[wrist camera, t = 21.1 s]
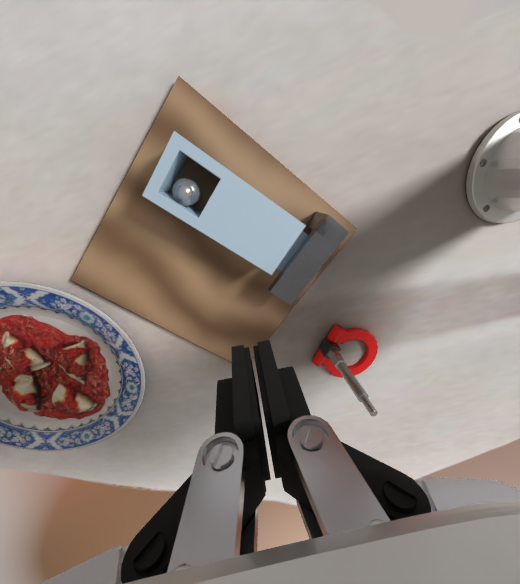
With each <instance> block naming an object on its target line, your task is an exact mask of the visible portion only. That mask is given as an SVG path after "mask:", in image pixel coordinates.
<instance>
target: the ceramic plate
mask: <svg viewBox="0 0 520 584" xmlns="http://www.w3.org/2000/svg"><path fill="white" fill-rule="evenodd" d="M144 391H145V371H144V366H143V363H142V360H141V357H140V355H139V353H138V350H137V348H136V347H135V345H134V343H133V342H132V340H131V339H130V338H129V336H128V335H127V334H126V332H125V331H124V330H123V329H122V328H121V327H120V326H119V325H118V324H117V323H116V322H115V321H114V320H113V319H112V318H110V317H109V316H108V315H106V314H105V313H104V312H103V311H101V310H100V309H98V308H96V307H95V306H93V305H92V304H90V303H88V302H86V301H84V300H83V299H81V298H78V297H76V296H74V295H72V294H69V293H67V292H64V291H61V290H58V289H55V288H51V287H48V286H43V285H38V284H33V283H26V282H13V281H0V443H1V444H5V445H9V446H12V447H16V448H23V449H30V450H39V451H58V450H71V449H77V448H81V447H85V446H89V445H92V444H95V443H98V442H100V441H103V440H105V439H107V438H108V437H110V436H112V435H114V434H115V433H117V432H118V431H120V430H121V429H122V428H123V427H125V426H126V425H127V424H128V423H129V422H130V421H131V419H132V418H133V417H134V415H135V414H136V412H137V411H138V409H139V407H140V405H141V403H142V400H143V396H144Z"/></svg>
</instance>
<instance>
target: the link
mask: <svg viewBox="0 0 520 584" xmlns="http://www.w3.org/2000/svg"><path fill="white" fill-rule="evenodd" d="M187 157H189V158H190V159H192V160H193V161H195V162H196V163H198V164H199V165H200V166H202V167H203V168H205V169H206V170H208V171H209V172H210V173H212V174H213V175H215V176H216V177H218V178H219V179H220V181H219V183H218V185H217V187H216V188H215V190H214V192H213V194H212V195H211V197H210V199H209V201H208V202H207V204H206V206H205V208H204V210H203V211H202V212H200V211H199V210H197V209H196V208H194V207H193V206H191V205H190V206H184V205H181V204H179V203H178V202H177V201H176V200H175V198H174V197H173V194H172V193H171V192H170V190H171V188H172V186H173V184H174V182H175V180H176V178H177V176H178V174H179V173H180V171H181V169H182V167H183V165H184V163H185V161H186V159H187ZM142 196H143V197H145V198H147V199H148V200H150V201H152V202H153V203H155V204H156V205H158V206H160V207H161V208H163V209H165V210H166V211H168V212H169V213H171V214H173V215H174V216H176V217H178V218H179V219H181V220H183V221H184V222H186V223H187V224H189V225H191V226H192V227H194V228H196V229H197V230H199V231H200V232H202V233H204V234H205V235H207V236H209V237H210V238H212V239H213V240H215V241H217V242H218V243H220V244H222V245H223V246H225V247H226V248H228V249H230V250H231V251H233V252H235V253H236V254H238V255H240V256H241V257H243V258H244V259H246V260H248V261H249V262H251V263H253V264H254V265H256V266H257V267H259V268H261V269H262V270H264V271H266V272H267V273H269V274H270V275H272V274H273V272H274V271H275V270H276V268H278V269H279V270H281V271H282V269H283V268H284V267H285V265H286V264H287V263H288V261H289V260H290V259H291V257H292V256H293V255H294V253H295V252H296V251H297V250H298V248H299V247H300V246H301V244H302V243H303V242H304V240H305V239H306V238H307V236H308V234H306V233H305V232H303V229H304V228H305V226H306V225H305V224H303V223H302V222H300V221H299V220H298V219H296V218H295V217H293V216H292V215H291V214H289V213H288V212H287V211H285V210H284V209H282V208H281V207H280V206H278V205H277V204H275V203H274V202H273V201H271V200H270V199H268V198H267V197H266V196H264V195H263V194H262V193H260V192H259V191H257V190H256V189H255V188H253V187H252V186H250V185H249V184H248V183H246V182H245V181H243V180H242V179H241V178H239V177H238V176H236V175H235V174H234V173H232V172H231V171H230V170H228V169H227V168H225V167H224V166H223V165H221V164H220V163H218V162H217V161H216V160H214V159H213V158H211V157H210V156H209V155H207V154H206V153H205V152H203V151H202V150H200V149H199V148H198V147H196V146H195V145H193V144H192V143H191V142H189V141H188V140H186V139H185V138H184V137H182V136H181V135H179V134H178V133H177V132H175V131H174V132H173V134H172V136H171V138H170V140H169V142H168V144H167V146H166V148H165V150H164V152H163V154H162V156H161V158H160V160H159V162H158V164H157V166H156V168H155V170H154V172H153V174H152V177H151V179H150V181H149V183H148V185H147V187H146V189H145V191H144V193H143V195H142Z"/></svg>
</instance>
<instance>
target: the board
mask: <svg viewBox="0 0 520 584" xmlns="http://www.w3.org/2000/svg"><path fill="white" fill-rule="evenodd" d="M174 131H175V132H177V133H178V134H179V135H181V136H182V137H184V138H185V139H186V140H188V141H189V142H191V143H192V144H193V145H195V146H196V147H198V148H199V149H200V150H202V151H203V152H205V153H206V154H207V155H209V156H210V157H211V158H213V159H214V160H216V161H217V162H218V163H220V164H221V165H223V166H224V167H225V168H227V169H228V170H230V171H231V172H232V173H234V174H235V175H236V176H238V177H239V178H241V179H242V180H243V181H245V182H246V183H248V184H249V185H250V186H252V187H253V188H255V189H256V190H257V191H259V192H260V193H262V194H263V195H264V196H266V197H267V198H268V199H270V200H271V201H273V202H274V203H275V204H277V205H278V206H280V207H281V208H282V209H284V210H285V211H287V212H288V213H289V214H291V215H292V216H293V217H295V218H296V219H298V220H299V221H300V222H302V223H303V224H305V225H306V224H307V222H308V221H309V220H310V218H311V217H312V216H313V214H314V213H315V212H320V213H324V214H328V215H330V216H331V217H332V218H333V219H335V220H336V221H337V222H338V223H339V224H340V225H342V226H343V227H344V228H345V229H346V230H348V231H349V233H348V235H347V236H346V237H345V238H344V240H343V241H342V242H341V243H340V245H339V246H338V247H337V248H336V250H335V251H334V252H333V253H332V255H331V256H330V257H329V258H328V260H327V261H326V262H325V263H324V265H323V266H322V267H321V268H320V270H319V271H318V272H317V273H316V275H315V276H314V277H313V278H312V280H311V281H310V282H309V283H308V285H307V286H306V287H305V288H304V290H303V291H302V292H301V293H300V295H299V296H298V297H297V298H296V300H295V301H294V302H293V303H292V304H291V305H289V304H288V303H286V302H285V301H283V300H282V299H280V298H279V297H277V296H276V295H274V294H273V293H271V292H270V291H269V286H270V285H271V284H272V282H273V281H274V280H275V278H276V277H277V276H278V274H279V273H280V272H281V270H279V269H278V268H276V270H275V271H274V272H273V274H272V275H270V274H269V273H267V272H266V271H264V270H262V269H261V268H259V267H257V266H256V265H254V264H253V263H251V262H249V261H248V260H246V259H244V258H243V257H241V256H240V255H238V254H236V253H235V252H233V251H231V250H230V249H228V248H226V247H225V246H223V245H222V244H220V243H218V242H217V241H215V240H213V239H212V238H210V237H209V236H207V235H205V234H204V233H202V232H200V231H199V230H197V229H196V228H194V227H192V226H191V225H189V224H187V223H186V222H184V221H183V220H181V219H179V218H178V217H176V216H174V215H173V214H171V213H169V212H168V211H166V210H165V209H163V208H161V207H160V206H158V205H156V204H155V203H153V202H152V201H150V200H148V199H147V198H145V197H143V196H142V195H143V193H144V191H145V189H146V187H147V185H148V183H149V181H150V179H151V177H152V174H153V172H154V170H155V168H156V166H157V164H158V162H159V160H160V158H161V156H162V154H163V152H164V150H165V148H166V146H167V144H168V142H169V140H170V138H171V136H172V134H173V132H174ZM182 178H186V179H191V180H194V181H196V182H197V183H198V184H199V185H200V186H201V188H202V197H201V199H200V200H199V201H198V202H197V203H195V204H193V205H191V206H193V207H194V208H196V209H197V210H199V211H200V212H202V211H203V210H204V208H205V206H206V204H207V202H208V201H209V199H210V197H211V195H212V194H213V192H214V190H215V188H216V187H217V185H218V183H219V181H220V179H219V178H218V177H216V176H215V175H213V174H212V173H210V172H209V171H208V170H206V169H205V168H203V167H202V166H200V165H199V164H198V163H196V162H195V161H193V160H192V159H190V158H189V157H187V159H186V161H185V163H184V165H183V167H182V169H181V171H180V173H179V174H178V176H177V178H176V180H175V182H176V181H177V180H179V179H182ZM175 182H174V183H175ZM173 185H174V184H173ZM172 188H173V186H172ZM172 188H171V190H170V192H171V193H172ZM172 194H173V193H172ZM356 229H357V228H356V227H355V226H353V225H352V224H351V223H350V222H349V221H348V220H346V219H345V218H344V217H343V216H342V215H341V214H339V213H338V212H337V211H336V210H335V209H334V208H332V207H331V206H330V205H329V204H328V203H327V202H325V201H324V200H323V199H322V198H321V197H320V196H318V195H317V194H316V193H315V192H314V191H313V190H311V189H310V188H309V187H308V186H307V185H306V184H304V183H303V182H302V181H301V180H300V179H299V178H297V177H296V176H295V175H294V174H293V173H292V172H290V171H289V170H288V169H287V168H286V167H285V166H283V165H282V164H281V163H280V162H279V161H278V160H276V159H275V158H274V157H273V156H272V155H271V154H269V153H268V152H267V151H266V150H265V149H264V148H262V147H261V146H260V145H259V144H258V143H257V142H255V141H254V140H253V139H252V138H251V137H250V136H248V135H247V134H246V133H245V132H244V131H243V130H241V129H240V128H239V127H238V126H237V125H236V124H234V123H233V122H232V121H231V120H230V119H229V118H227V117H226V116H225V115H224V114H223V113H222V112H220V111H219V110H218V109H217V108H216V107H215V106H213V105H212V104H211V103H210V102H209V101H207V100H206V99H205V98H204V97H203V96H202V95H200V94H199V93H198V92H197V91H196V90H195V89H193V88H192V87H191V86H190V85H189V84H188V83H186V82H185V81H184V80H183V79H182V78H181V77H179V76H178V78H177V80H176V82H175V84H174V86H173V88H172V90H171V91H170V93H169V95H168V97H167V99H166V101H165V103H164V105H163V107H162V109H161V110H160V112H159V114H158V116H157V118H156V120H155V122H154V124H153V126H152V127H151V129H150V131H149V133H148V135H147V137H146V139H145V141H144V143H143V145H142V146H141V148H140V150H139V152H138V154H137V156H136V158H135V160H134V162H133V163H132V165H131V167H130V169H129V171H128V173H127V175H126V177H125V179H124V181H123V182H122V184H121V186H120V188H119V190H118V192H117V194H116V196H115V198H114V199H113V201H112V203H111V205H110V207H109V209H108V211H107V213H106V215H105V217H104V218H103V220H102V222H101V224H100V226H99V228H98V230H97V232H96V234H95V235H94V237H93V239H92V241H91V243H90V245H89V247H88V249H87V251H86V253H85V254H84V256H83V258H82V260H81V262H80V264H79V266H78V268H77V270H76V271H75V273H74V275H73V277H72V279H71V281H73V282H75V283H77V284H79V285H81V286H83V287H85V288H87V289H89V290H91V291H93V292H95V293H97V294H99V295H101V296H103V297H105V298H106V299H108V300H110V301H112V302H114V303H116V304H118V305H120V306H122V307H124V308H126V309H128V310H130V311H132V312H134V313H136V314H138V315H140V316H142V317H144V318H146V319H147V320H149V321H151V322H153V323H155V324H157V325H159V326H161V327H163V328H165V329H167V330H169V331H171V332H173V333H175V334H177V335H179V336H181V337H183V338H185V339H186V340H188V341H190V342H192V343H194V344H196V345H198V346H200V347H202V348H204V349H206V350H208V351H210V352H212V353H214V354H216V355H218V356H220V357H222V358H224V359H225V360H227V361H229V362H231V363H232V350H231V347H233V346H238V345H244V348H246V347H249V349H250V355H251V359H252V358H253V357H254V350H253V346H257V342H260V341H266V340H267V339H268V338H269V337H270V336H271V334H272V333H273V332H274V331H275V329H276V328H277V327H278V326H279V324H280V323H281V322H282V321H283V320H284V318H285V317H286V316H287V315H288V313H289V312H290V311H291V310H292V308H293V307H294V306H295V305H296V303H297V302H298V301H299V300H300V298H301V297H302V296H303V295H304V294H305V292H306V291H307V290H308V289H309V287H310V286H311V285H312V284H313V282H314V281H315V280H316V279H317V277H318V276H319V275H320V274H321V272H322V271H323V270H324V269H325V268H326V266H327V265H328V264H329V263H330V261H331V260H332V259H333V258H334V256H335V255H336V254H337V253H338V251H339V250H340V249H341V248H342V246H343V245H344V244H345V243H346V242H347V240H348V239H349V238H350V237H351V235H352V234H353V233H354V232H355V230H356ZM303 232H305V233H306V234H308V235H309V234H310V232H311V230H309V229H308V228H307V227H306V226H305V228H304V229H303Z"/></svg>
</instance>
